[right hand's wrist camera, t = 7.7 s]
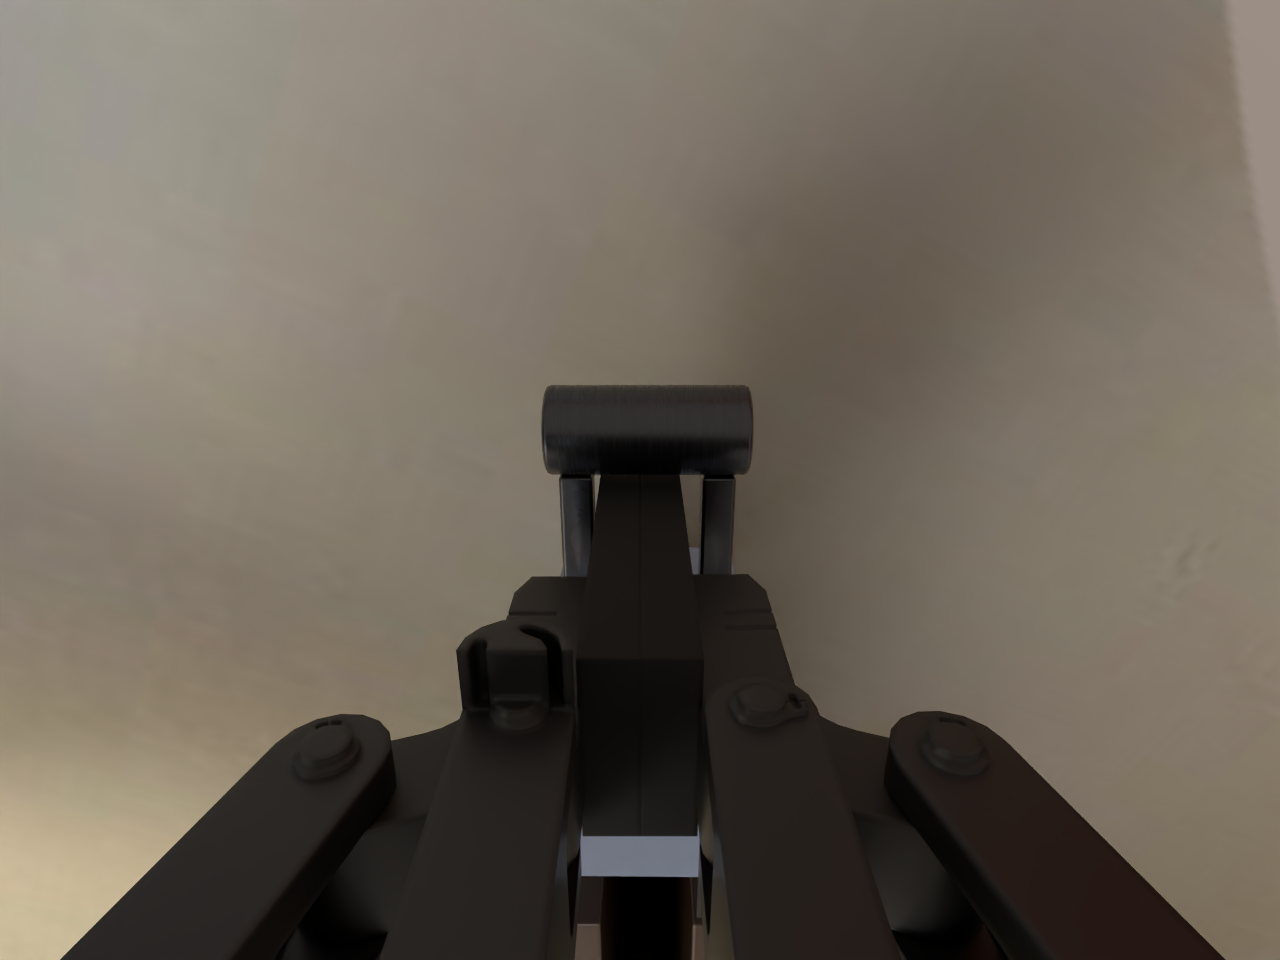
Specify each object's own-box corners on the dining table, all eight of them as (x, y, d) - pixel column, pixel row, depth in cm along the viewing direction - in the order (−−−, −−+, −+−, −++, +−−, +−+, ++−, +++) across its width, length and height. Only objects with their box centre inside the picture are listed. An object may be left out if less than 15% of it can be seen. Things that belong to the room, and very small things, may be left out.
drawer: (557, 334, 18) (470, 474, 9) (739, 334, 17) (822, 474, 9) (587, 1004, 26) (558, 1391, 18) (708, 1006, 26) (736, 1394, 18)
